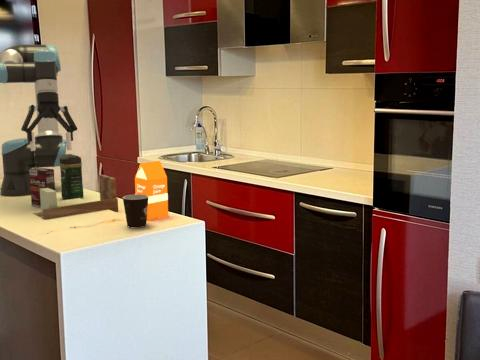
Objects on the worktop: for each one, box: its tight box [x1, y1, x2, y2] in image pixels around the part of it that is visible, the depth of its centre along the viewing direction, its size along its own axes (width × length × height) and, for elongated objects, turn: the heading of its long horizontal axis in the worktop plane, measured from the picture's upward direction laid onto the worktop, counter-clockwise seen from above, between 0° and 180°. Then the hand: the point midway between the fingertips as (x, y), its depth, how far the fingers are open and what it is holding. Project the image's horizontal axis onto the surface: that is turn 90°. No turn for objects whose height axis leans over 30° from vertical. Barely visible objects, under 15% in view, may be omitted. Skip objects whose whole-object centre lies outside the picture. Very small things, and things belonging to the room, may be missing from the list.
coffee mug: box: [122, 193, 149, 228], centre depth 202 cm, size 12×9×10 cm
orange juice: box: [134, 160, 169, 221], centre depth 214 cm, size 8×9×20 cm
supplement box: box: [29, 167, 56, 208], centre depth 226 cm, size 9×5×16 cm, turn 62°
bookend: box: [40, 188, 58, 214], centre depth 213 cm, size 8×3×9 cm, turn 38°
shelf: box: [32, 174, 119, 221], centre depth 219 cm, size 12×28×12 cm, turn 128°
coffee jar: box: [59, 153, 84, 201], centre depth 245 cm, size 10×8×19 cm
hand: (51, 150), depth 219 cm, fingers open, 13 cm apart
